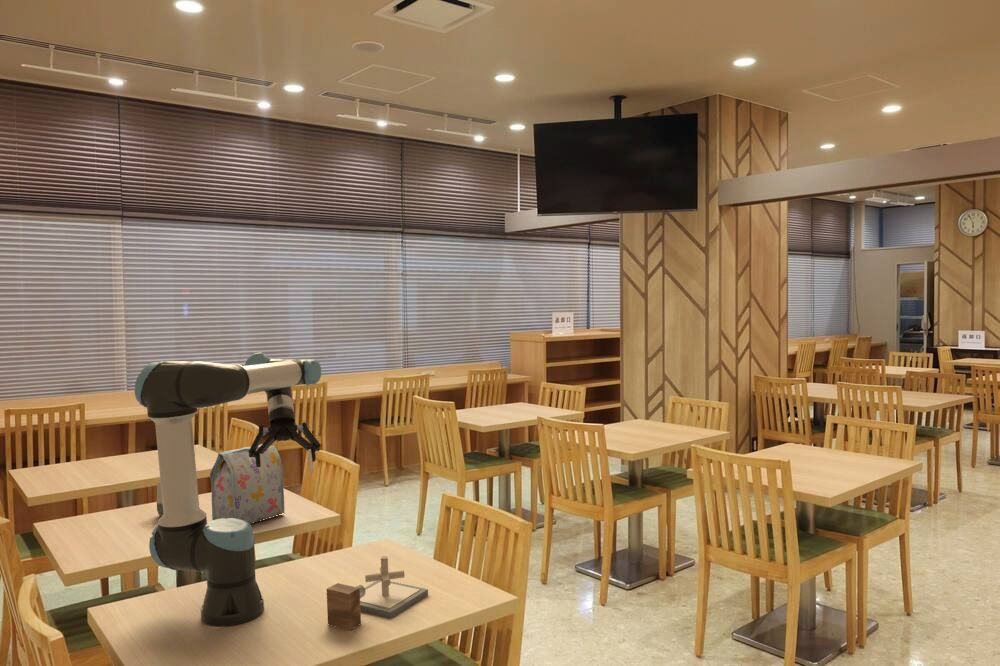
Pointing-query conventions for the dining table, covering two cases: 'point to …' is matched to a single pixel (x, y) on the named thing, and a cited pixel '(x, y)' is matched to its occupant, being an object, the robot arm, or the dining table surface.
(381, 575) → the pipe connector
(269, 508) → the lunch bag
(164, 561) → the robot arm
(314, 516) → the dining table surface
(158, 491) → the smart speaker
